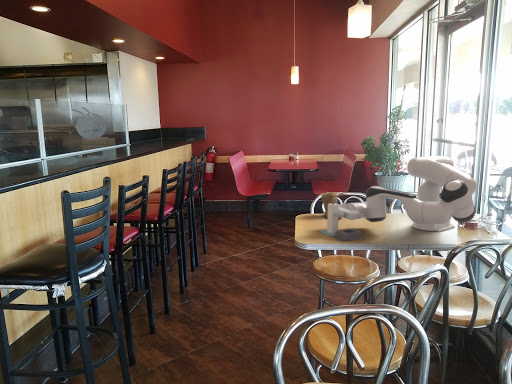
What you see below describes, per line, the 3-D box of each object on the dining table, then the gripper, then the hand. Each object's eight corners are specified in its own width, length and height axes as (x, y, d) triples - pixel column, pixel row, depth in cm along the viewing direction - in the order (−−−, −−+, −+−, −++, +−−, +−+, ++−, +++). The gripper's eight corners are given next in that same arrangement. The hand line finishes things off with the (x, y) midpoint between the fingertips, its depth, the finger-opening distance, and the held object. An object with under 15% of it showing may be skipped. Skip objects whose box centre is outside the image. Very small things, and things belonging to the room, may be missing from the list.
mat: (335, 229, 220) (335, 228, 220) (346, 234, 211) (346, 233, 211) (319, 231, 217) (319, 230, 216) (329, 236, 208) (330, 235, 207)
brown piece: (319, 214, 257) (320, 190, 255) (338, 213, 257) (339, 190, 255) (323, 219, 242) (324, 195, 240) (343, 219, 242) (344, 194, 240)
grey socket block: (352, 234, 210) (352, 228, 210) (361, 238, 203) (361, 231, 203) (335, 237, 206) (335, 230, 206) (344, 241, 199) (344, 234, 199)
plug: (333, 230, 216) (334, 197, 213) (338, 232, 213) (338, 198, 210) (327, 231, 215) (327, 198, 212) (331, 233, 211) (332, 199, 208)
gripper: (365, 221, 208) (343, 224, 203) (342, 213, 227) (321, 215, 221) (366, 209, 207) (343, 211, 202) (342, 202, 226) (321, 204, 220)
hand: (331, 213), depth 212 cm, fingers open, 5 cm apart
